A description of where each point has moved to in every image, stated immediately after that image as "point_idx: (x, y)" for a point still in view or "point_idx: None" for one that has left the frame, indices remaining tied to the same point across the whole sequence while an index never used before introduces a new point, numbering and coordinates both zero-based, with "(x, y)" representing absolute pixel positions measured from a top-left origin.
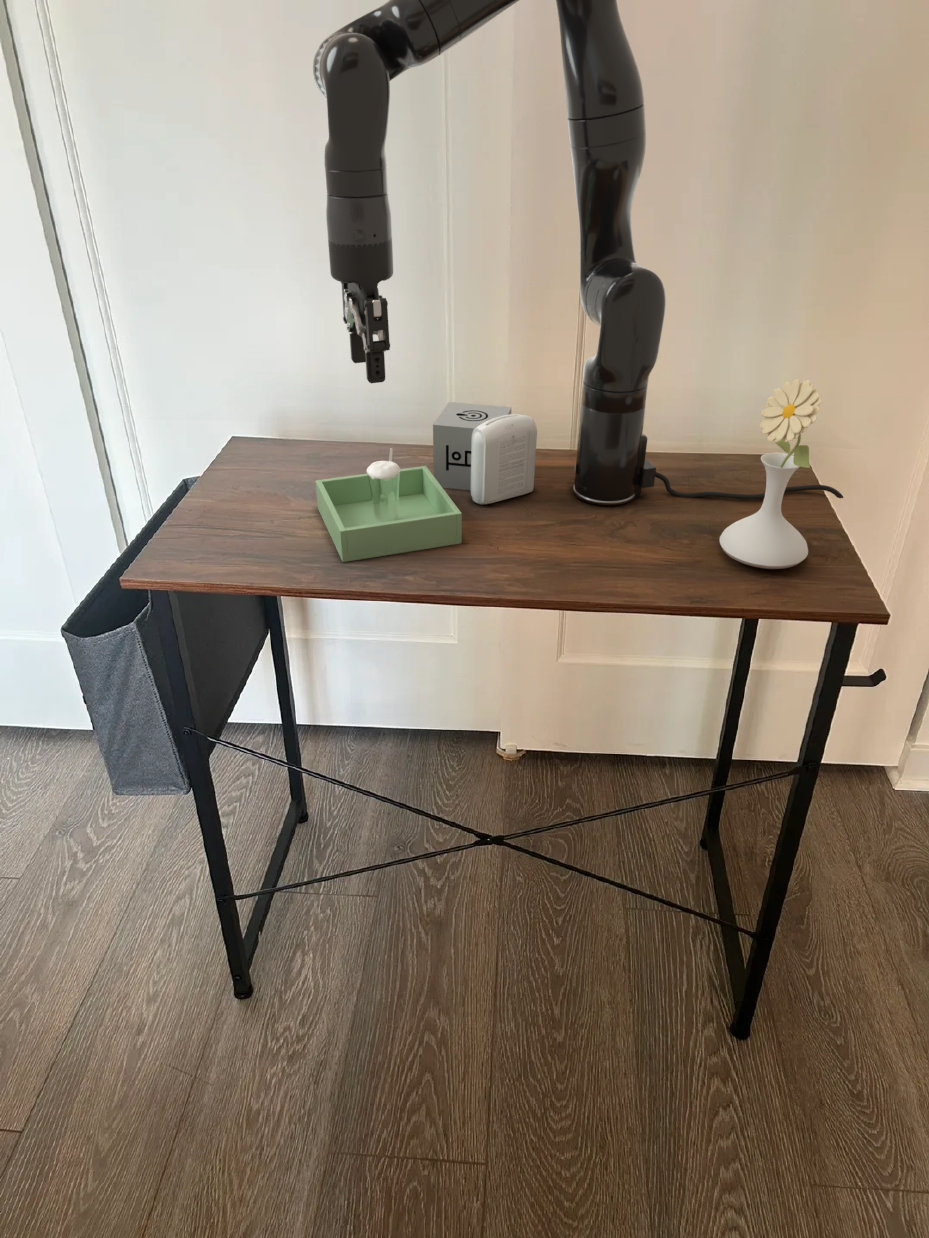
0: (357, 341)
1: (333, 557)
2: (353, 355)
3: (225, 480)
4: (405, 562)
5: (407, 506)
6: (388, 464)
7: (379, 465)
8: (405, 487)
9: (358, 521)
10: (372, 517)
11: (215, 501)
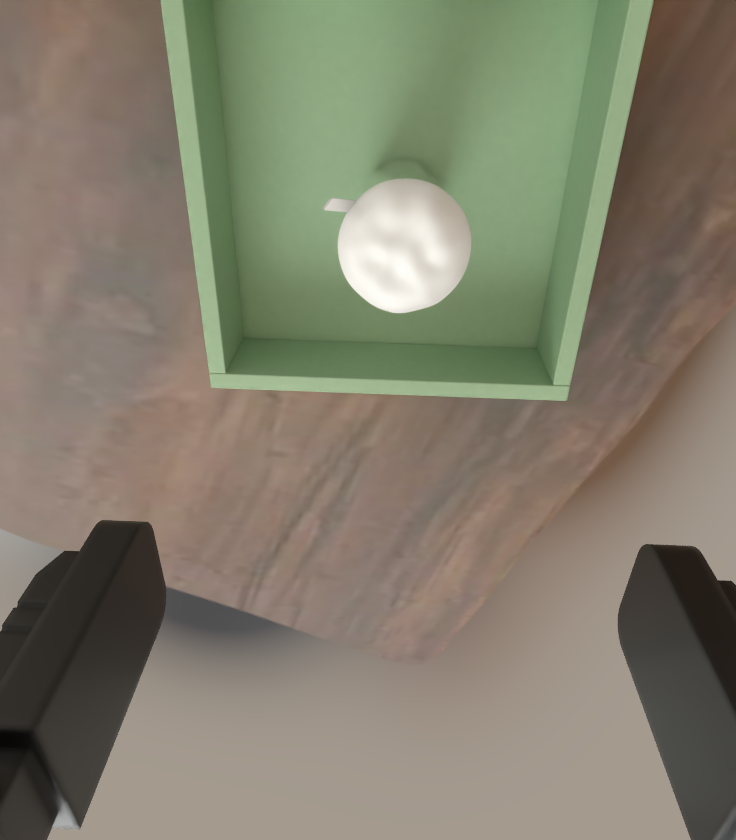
0: (96, 726)
1: None
2: (148, 646)
3: (23, 505)
4: (631, 203)
5: (306, 85)
6: (417, 239)
7: (419, 278)
8: (210, 64)
9: None
10: None
11: None
